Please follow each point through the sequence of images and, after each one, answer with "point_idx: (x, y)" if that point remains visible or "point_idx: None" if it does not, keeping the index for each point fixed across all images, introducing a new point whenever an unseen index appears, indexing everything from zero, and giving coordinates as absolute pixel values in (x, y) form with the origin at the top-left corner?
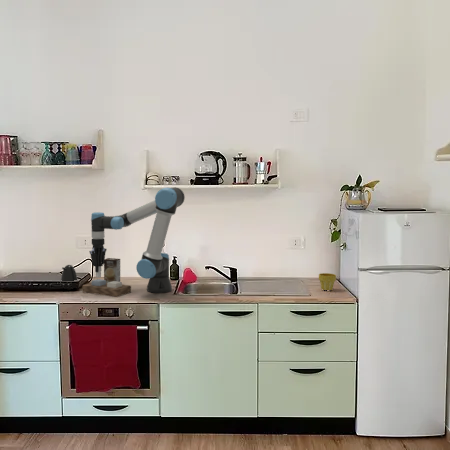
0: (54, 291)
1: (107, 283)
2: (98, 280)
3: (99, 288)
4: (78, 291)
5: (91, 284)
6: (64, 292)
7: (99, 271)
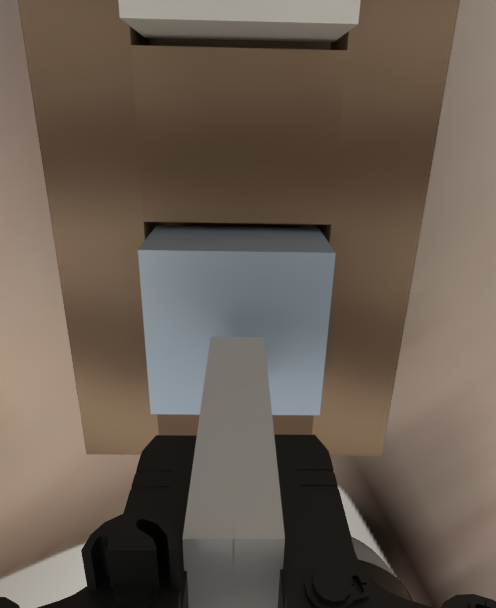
0: (437, 599)
1: (355, 17)
2: None
3: (428, 142)
4: None
5: None
6: (444, 520)
7: (262, 417)
